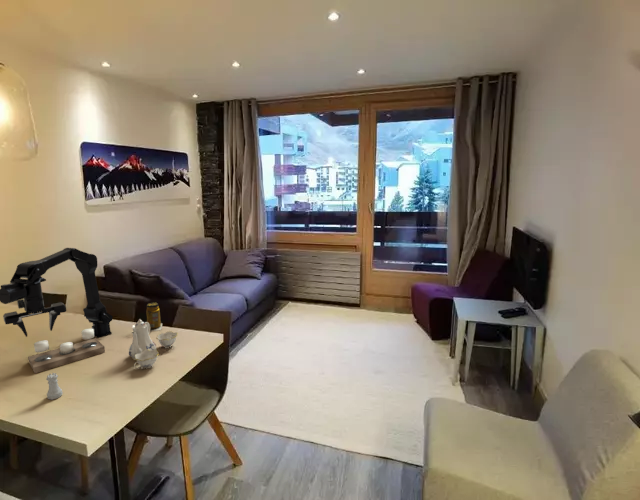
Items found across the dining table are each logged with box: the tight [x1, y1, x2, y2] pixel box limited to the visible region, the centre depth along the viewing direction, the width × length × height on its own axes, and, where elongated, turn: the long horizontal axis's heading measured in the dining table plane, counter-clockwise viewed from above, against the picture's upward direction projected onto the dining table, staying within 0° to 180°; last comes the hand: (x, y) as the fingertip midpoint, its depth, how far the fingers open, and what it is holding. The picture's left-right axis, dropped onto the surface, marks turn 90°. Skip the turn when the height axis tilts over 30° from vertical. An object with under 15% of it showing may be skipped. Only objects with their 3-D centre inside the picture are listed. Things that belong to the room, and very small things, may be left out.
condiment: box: [145, 302, 163, 332], centre depth 179 cm, size 7×8×12 cm
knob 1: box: [33, 339, 50, 353], centre depth 143 cm, size 4×4×3 cm
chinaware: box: [128, 318, 178, 370], centre depth 150 cm, size 28×17×17 cm, turn 3°
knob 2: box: [81, 327, 95, 340], centre depth 154 cm, size 4×4×3 cm
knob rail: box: [27, 337, 106, 374], centre depth 150 cm, size 24×12×3 cm, turn 136°
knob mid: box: [59, 341, 74, 354], centre depth 149 cm, size 4×4×3 cm
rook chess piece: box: [45, 372, 64, 401], centre depth 123 cm, size 4×4×8 cm
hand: (39, 333), depth 142 cm, fingers open, 7 cm apart
